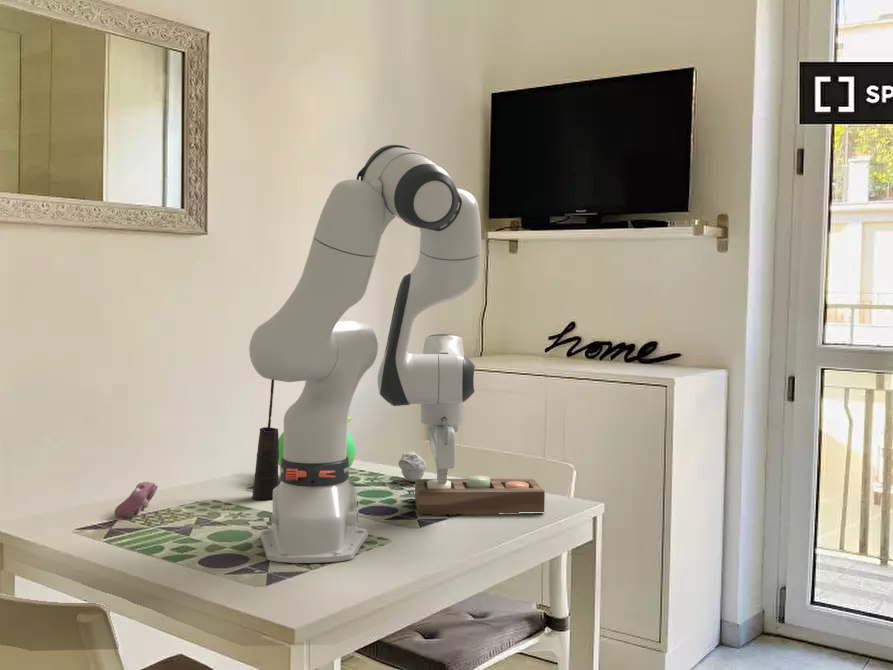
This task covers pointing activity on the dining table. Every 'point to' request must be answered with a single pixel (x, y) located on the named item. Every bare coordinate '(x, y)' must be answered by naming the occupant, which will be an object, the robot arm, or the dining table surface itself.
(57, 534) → the dining table surface
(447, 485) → the cream button
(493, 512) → the button panel
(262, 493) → the butter churn
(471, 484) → the sage button
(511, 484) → the terracotta button
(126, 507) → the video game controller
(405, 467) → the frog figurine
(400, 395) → the robot arm
